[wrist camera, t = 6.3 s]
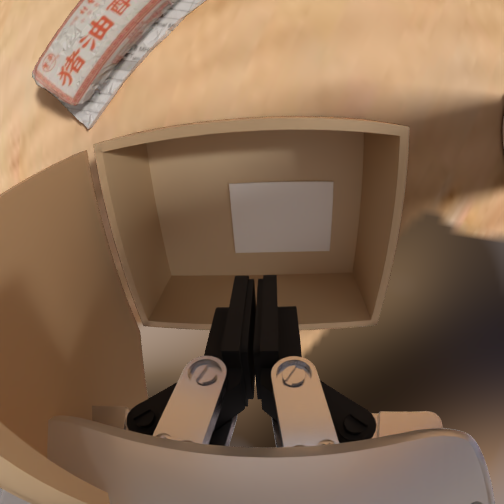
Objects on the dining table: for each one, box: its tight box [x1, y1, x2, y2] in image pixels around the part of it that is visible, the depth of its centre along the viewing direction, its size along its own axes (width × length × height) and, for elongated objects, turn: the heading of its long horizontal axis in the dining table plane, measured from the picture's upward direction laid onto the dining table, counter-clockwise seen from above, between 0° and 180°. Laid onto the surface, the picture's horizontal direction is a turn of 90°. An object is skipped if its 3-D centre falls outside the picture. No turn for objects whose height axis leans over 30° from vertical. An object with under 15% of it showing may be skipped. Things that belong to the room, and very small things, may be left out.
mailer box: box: [93, 116, 410, 330], centre depth 19 cm, size 18×14×7 cm
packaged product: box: [32, 0, 206, 129], centre depth 13 cm, size 18×5×10 cm
